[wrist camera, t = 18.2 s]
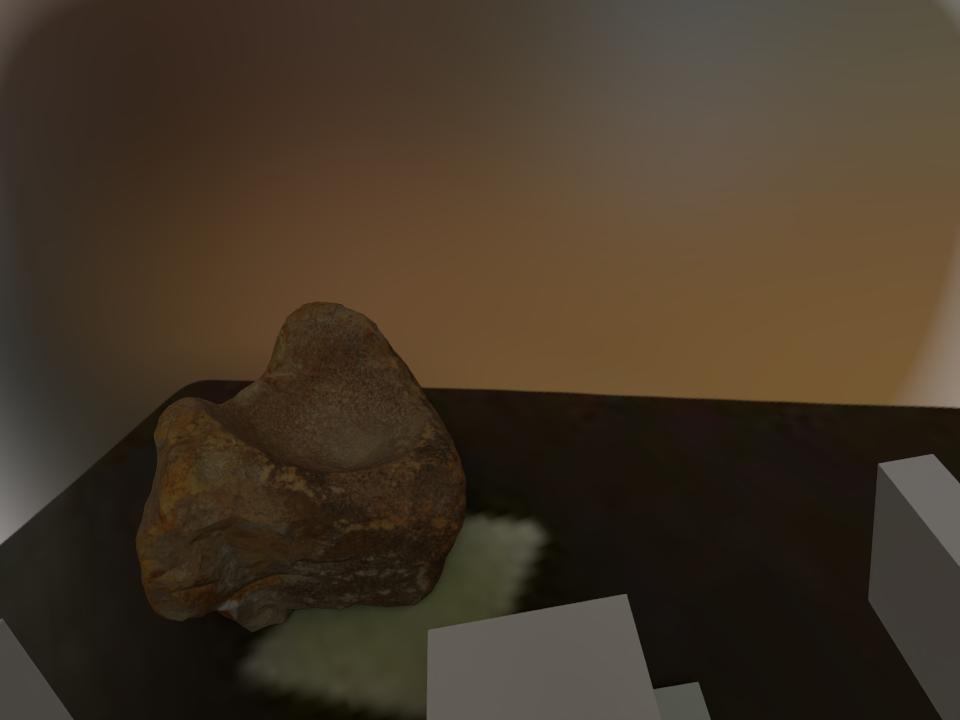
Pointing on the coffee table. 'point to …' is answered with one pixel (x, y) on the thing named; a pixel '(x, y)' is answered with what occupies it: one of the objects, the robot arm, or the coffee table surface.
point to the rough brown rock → (303, 484)
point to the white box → (542, 666)
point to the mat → (681, 702)
